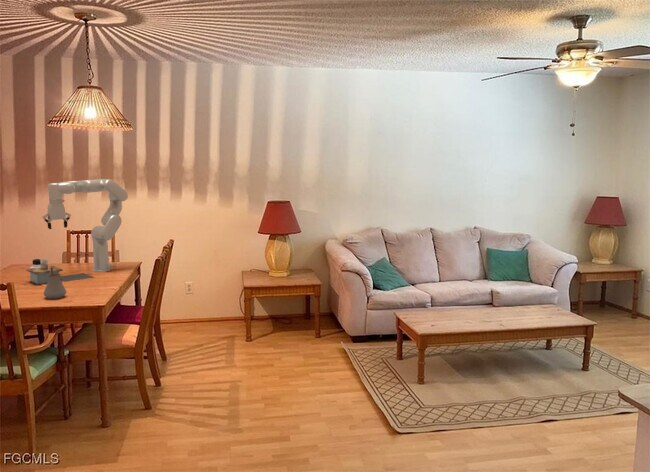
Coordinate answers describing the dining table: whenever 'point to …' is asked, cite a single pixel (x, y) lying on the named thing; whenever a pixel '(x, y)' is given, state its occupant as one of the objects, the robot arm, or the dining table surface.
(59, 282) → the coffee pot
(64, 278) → the rubber mat
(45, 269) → the walnut lid
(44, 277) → the grey ceramic box
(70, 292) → the dining table surface
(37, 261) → the medicine bottle
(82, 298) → the dining table surface
